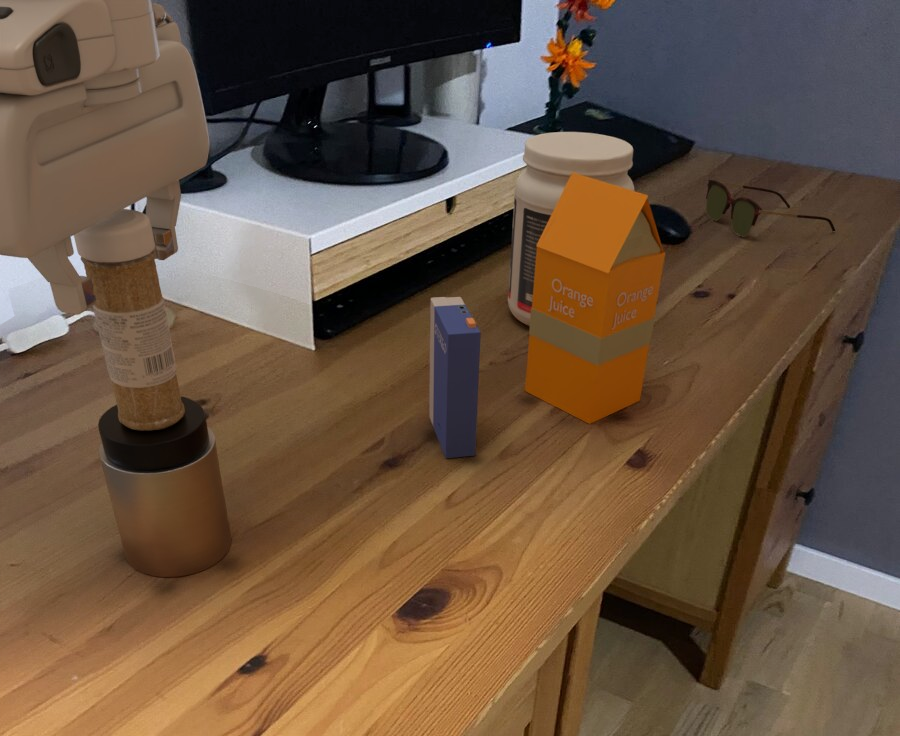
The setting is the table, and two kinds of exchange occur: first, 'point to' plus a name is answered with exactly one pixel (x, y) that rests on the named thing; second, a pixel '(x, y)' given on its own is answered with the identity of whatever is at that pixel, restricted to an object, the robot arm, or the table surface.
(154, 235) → the robot arm
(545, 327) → the orange juice
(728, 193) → the sunglasses
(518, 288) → the supplement tub
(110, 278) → the sprinkles bottle
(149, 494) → the flask
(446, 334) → the walkman
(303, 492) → the table surface
